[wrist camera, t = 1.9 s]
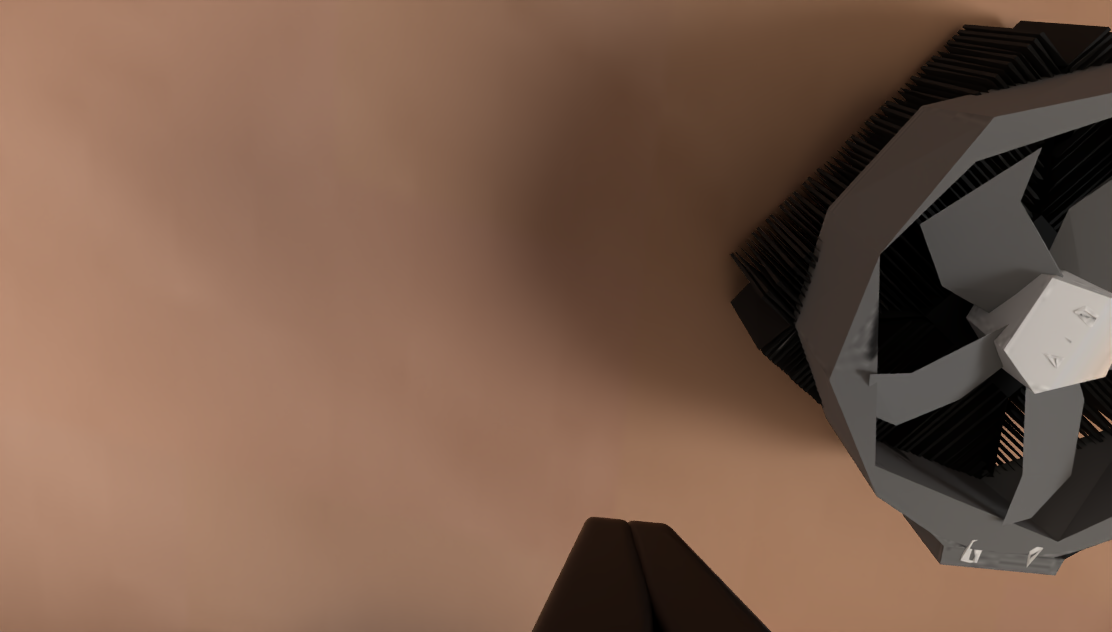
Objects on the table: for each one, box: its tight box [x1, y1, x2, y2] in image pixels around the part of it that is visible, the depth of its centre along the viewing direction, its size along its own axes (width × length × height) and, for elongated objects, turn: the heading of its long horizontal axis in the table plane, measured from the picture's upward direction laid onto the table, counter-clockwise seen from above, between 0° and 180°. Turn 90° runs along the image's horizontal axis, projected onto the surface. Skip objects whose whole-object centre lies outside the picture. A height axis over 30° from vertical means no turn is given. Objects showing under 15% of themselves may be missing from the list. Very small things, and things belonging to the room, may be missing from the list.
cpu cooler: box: [730, 21, 1112, 575], centre depth 18 cm, size 10×6×10 cm
